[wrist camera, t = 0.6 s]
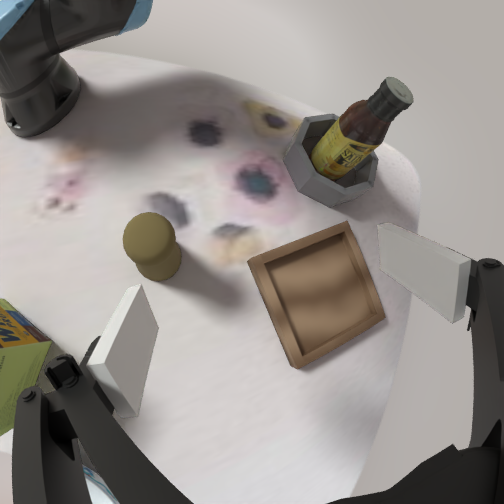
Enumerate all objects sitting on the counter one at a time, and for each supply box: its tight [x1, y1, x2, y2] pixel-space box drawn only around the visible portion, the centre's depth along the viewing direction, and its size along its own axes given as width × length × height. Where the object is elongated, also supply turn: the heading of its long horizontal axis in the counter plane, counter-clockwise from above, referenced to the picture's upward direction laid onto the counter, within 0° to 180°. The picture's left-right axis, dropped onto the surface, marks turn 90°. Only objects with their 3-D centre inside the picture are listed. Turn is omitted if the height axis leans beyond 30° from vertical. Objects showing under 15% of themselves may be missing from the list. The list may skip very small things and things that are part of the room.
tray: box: [247, 221, 386, 369], centre depth 38 cm, size 15×15×2 cm
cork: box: [123, 212, 182, 281], centre depth 30 cm, size 6×6×11 cm
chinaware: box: [82, 465, 120, 504], centre depth 22 cm, size 15×15×8 cm
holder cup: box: [283, 114, 378, 207], centre depth 42 cm, size 13×13×5 cm
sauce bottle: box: [309, 77, 413, 182], centre depth 34 cm, size 7×6×20 cm
